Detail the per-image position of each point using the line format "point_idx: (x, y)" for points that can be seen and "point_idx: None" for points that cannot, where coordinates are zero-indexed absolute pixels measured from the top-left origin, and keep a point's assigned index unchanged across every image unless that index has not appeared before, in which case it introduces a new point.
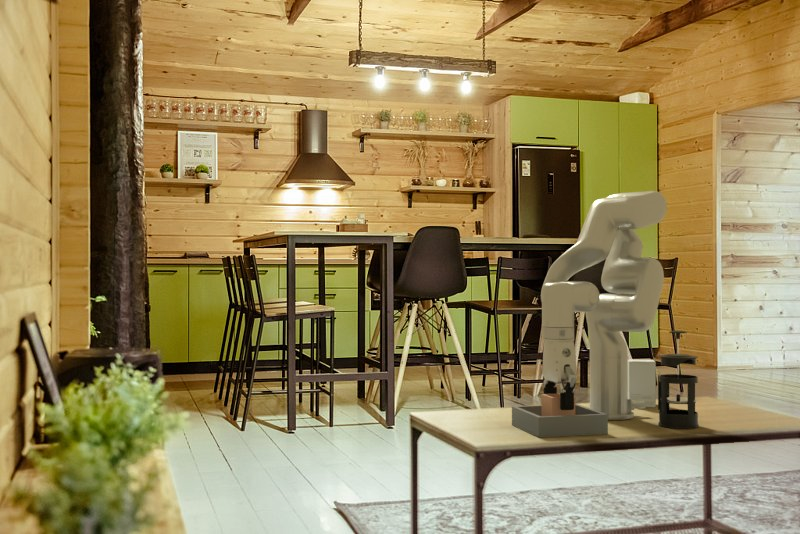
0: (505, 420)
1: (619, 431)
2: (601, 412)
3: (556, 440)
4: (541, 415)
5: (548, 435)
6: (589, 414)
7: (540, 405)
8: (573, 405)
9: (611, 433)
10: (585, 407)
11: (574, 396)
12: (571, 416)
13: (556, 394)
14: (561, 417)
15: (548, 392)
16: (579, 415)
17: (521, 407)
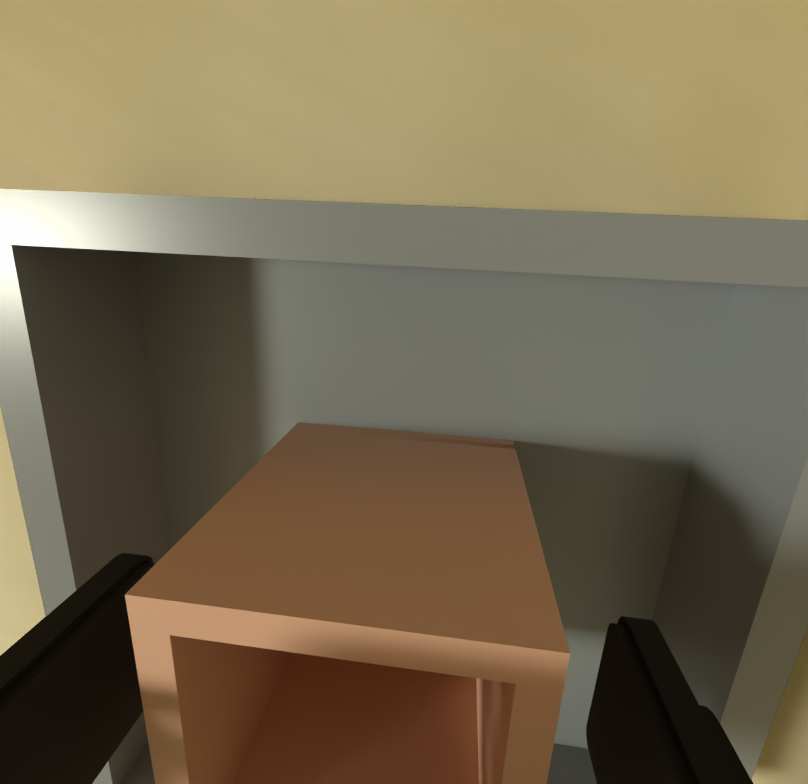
0: (18, 635)
1: (694, 33)
2: (745, 227)
3: (782, 713)
4: (142, 553)
5: None
6: (803, 467)
7: (54, 607)
8: (670, 659)
9: (750, 181)
10: (257, 221)
11: (533, 650)
12: (781, 683)
13: (188, 724)
14: (748, 762)
15: (67, 775)
16: (802, 603)
17: (113, 756)
